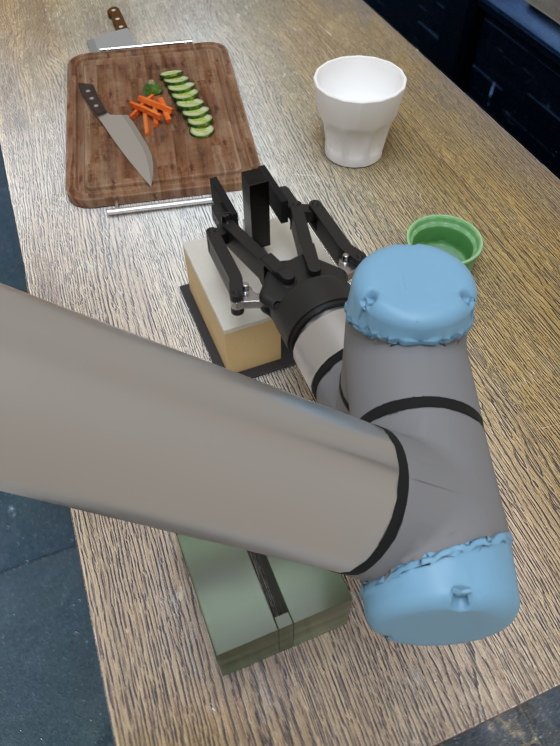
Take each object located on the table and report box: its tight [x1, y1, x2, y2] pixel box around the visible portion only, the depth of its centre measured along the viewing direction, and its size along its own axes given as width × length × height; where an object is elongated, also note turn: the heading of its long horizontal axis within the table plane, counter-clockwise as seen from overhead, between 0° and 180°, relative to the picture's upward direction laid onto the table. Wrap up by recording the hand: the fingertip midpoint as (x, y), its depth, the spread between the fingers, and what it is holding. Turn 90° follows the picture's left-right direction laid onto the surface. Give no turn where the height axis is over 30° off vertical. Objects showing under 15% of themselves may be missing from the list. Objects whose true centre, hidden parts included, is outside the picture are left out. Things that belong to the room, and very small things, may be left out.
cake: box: [179, 217, 336, 379], centre depth 72 cm, size 16×16×8 cm
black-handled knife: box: [241, 167, 271, 252], centre depth 69 cm, size 8×2×17 cm, turn 22°
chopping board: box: [64, 38, 261, 216], centre depth 99 cm, size 45×27×3 cm, turn 11°
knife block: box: [175, 533, 353, 677], centre depth 53 cm, size 12×11×6 cm
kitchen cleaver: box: [86, 6, 138, 53], centre depth 116 cm, size 24×1×10 cm
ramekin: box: [405, 213, 484, 273], centre depth 78 cm, size 9×9×4 cm
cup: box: [312, 54, 408, 169], centre depth 90 cm, size 12×12×11 cm
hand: (238, 182), depth 69 cm, fingers open, 5 cm apart
